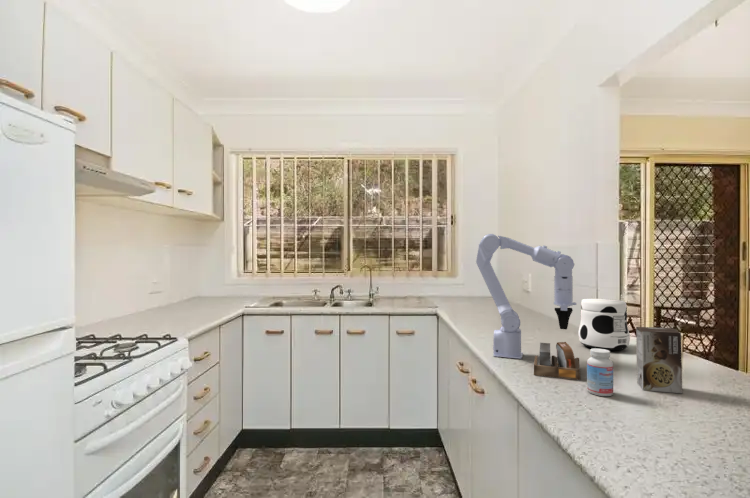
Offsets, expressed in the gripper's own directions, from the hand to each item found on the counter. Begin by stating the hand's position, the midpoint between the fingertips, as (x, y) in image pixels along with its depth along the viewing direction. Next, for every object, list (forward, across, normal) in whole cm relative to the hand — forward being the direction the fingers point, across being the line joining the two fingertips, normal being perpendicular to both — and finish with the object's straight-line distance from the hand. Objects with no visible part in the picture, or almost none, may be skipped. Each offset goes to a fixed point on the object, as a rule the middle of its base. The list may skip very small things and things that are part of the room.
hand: (563, 329), depth 142 cm
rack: (+10, -16, +2) cm, 19 cm away
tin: (+11, -15, 0) cm, 19 cm away
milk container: (+11, +24, -15) cm, 30 cm away
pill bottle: (+11, -33, -8) cm, 35 cm away
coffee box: (+11, -23, -23) cm, 34 cm away
